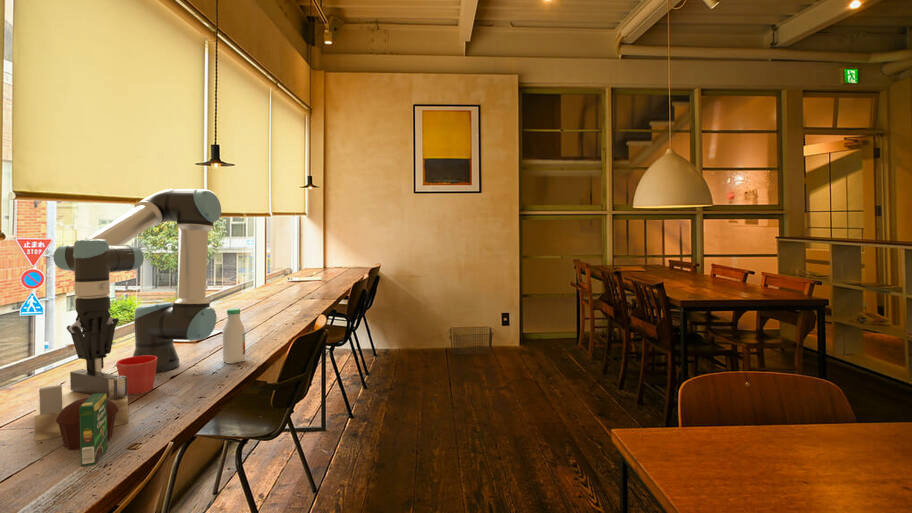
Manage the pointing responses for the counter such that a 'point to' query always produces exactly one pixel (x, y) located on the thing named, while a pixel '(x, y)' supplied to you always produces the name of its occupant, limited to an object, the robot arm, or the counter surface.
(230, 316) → the milk bottle
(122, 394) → the folding leg
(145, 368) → the flower pot
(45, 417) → the stool seat
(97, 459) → the coffee box
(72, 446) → the muffin
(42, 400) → the block
